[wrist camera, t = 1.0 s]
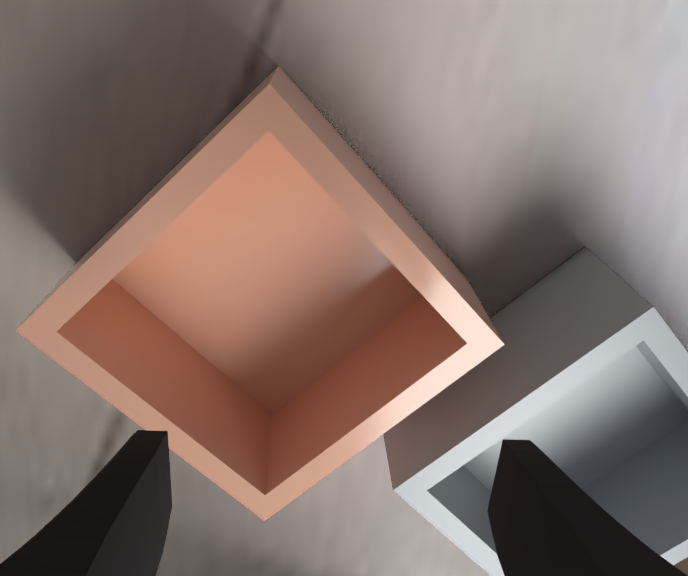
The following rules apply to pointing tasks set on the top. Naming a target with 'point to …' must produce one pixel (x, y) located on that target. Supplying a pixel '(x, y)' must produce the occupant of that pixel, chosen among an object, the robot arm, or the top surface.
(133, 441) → the robot arm
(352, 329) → the terracotta bin
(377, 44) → the top surface
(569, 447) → the grey bin
